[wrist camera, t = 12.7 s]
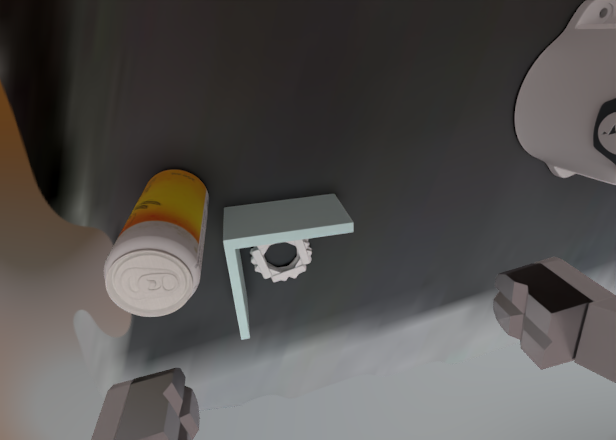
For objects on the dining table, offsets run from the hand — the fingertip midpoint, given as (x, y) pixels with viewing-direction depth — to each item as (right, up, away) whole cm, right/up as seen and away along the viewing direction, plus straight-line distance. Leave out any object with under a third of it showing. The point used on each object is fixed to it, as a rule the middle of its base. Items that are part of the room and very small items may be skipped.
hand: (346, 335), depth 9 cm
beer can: (-14, +5, +28) cm, 32 cm away
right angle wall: (-4, 0, +33) cm, 34 cm away
